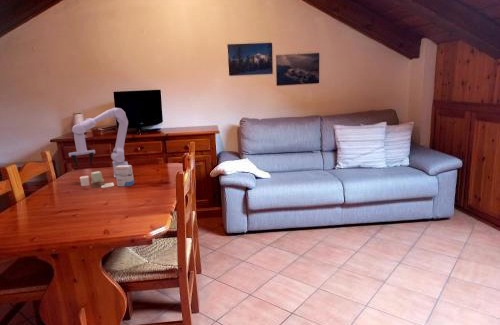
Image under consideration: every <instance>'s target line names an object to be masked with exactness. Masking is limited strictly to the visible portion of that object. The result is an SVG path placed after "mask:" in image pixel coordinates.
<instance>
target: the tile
mask: <svg viewBox="0 0 500 325" xmlns="http://www.w3.org/2000/svg"><path fill="white" fill-rule="evenodd" d="M104 184H105V185H103V186H101V187H100V188H101V189H107V188H111V187H112V188H113V187H115V184H114V182H107V183H104Z"/></svg>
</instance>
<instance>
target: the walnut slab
mask: <svg viewBox="0 0 500 325" xmlns="http://www.w3.org/2000/svg"><path fill="white" fill-rule="evenodd" d="M90 184H91V188H92V189H94V188H101V186H103V185H105V184H106V183H105V179H104V178H103V177H102V181H98V182H93V181H92V179H91V181H90Z"/></svg>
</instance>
